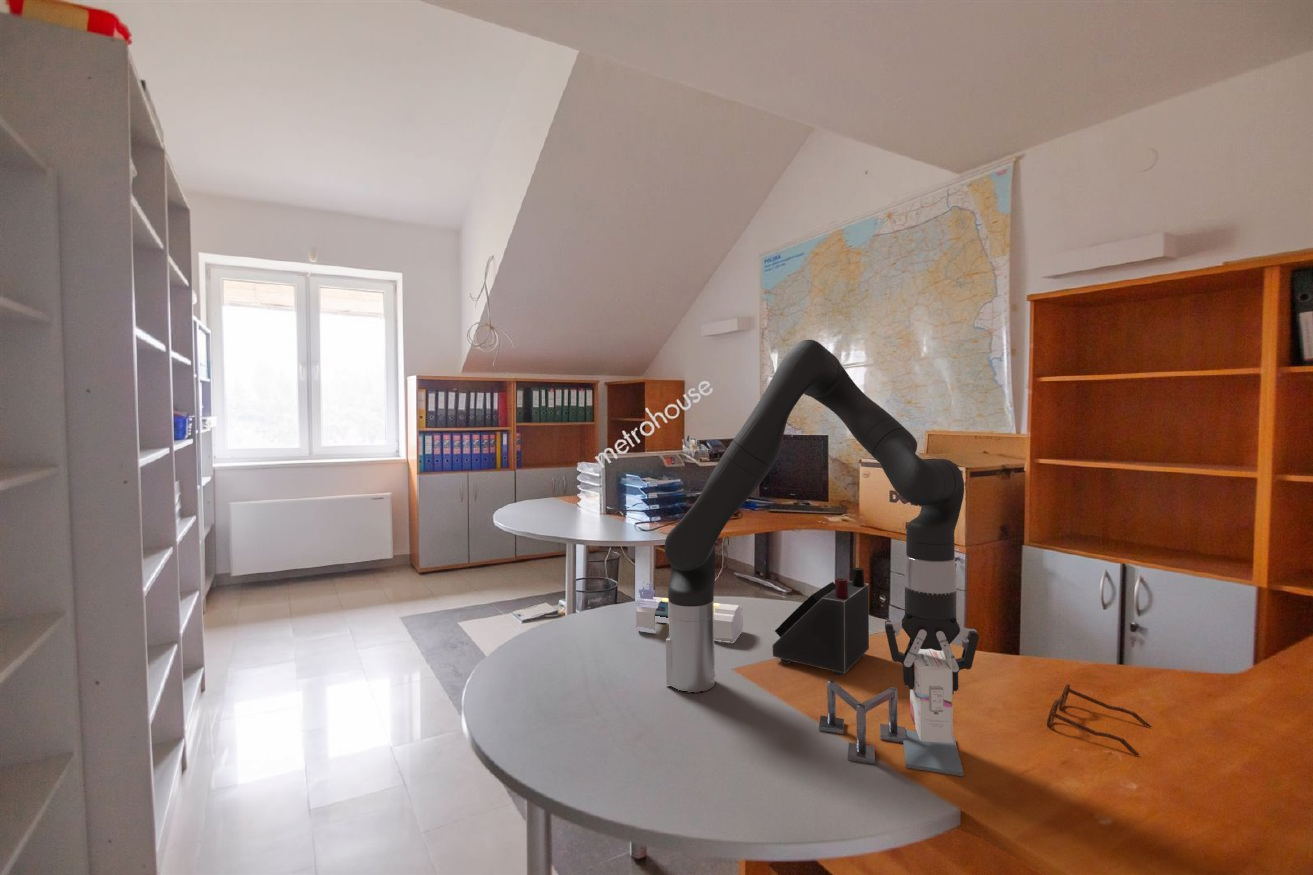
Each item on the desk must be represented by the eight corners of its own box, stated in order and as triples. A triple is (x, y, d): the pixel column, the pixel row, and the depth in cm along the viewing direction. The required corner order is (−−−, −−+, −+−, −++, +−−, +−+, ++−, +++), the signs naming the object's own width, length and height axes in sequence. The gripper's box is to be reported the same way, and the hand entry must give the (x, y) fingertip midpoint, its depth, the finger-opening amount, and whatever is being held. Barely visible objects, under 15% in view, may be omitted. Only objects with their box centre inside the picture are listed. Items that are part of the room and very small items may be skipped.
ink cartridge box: (908, 715, 104) (908, 628, 103) (939, 718, 103) (940, 630, 102) (919, 741, 95) (919, 647, 95) (953, 744, 94) (954, 649, 94)
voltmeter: (800, 640, 150) (799, 558, 149) (868, 655, 140) (868, 567, 140) (771, 662, 137) (770, 572, 136) (844, 680, 127) (844, 583, 126)
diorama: (636, 634, 157) (635, 583, 156) (651, 621, 166) (650, 573, 166) (732, 646, 147) (731, 592, 147) (742, 632, 157) (742, 581, 156)
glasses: (1063, 705, 115) (1063, 679, 115) (1152, 730, 106) (1152, 701, 106) (1045, 732, 106) (1045, 703, 106) (1141, 761, 97) (1141, 729, 97)
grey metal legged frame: (815, 755, 99) (814, 705, 99) (820, 720, 110) (820, 675, 110) (909, 769, 94) (909, 718, 94) (905, 731, 106) (905, 685, 106)
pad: (905, 767, 95) (905, 763, 95) (902, 732, 106) (902, 729, 105) (963, 776, 93) (963, 772, 92) (953, 739, 103) (953, 736, 103)
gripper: (882, 587, 97) (883, 694, 98) (984, 595, 92) (984, 706, 93) (881, 576, 104) (881, 675, 105) (976, 582, 100) (976, 686, 100)
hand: (930, 689), depth 99 cm, fingers closed on ink cartridge box, 5 cm apart
